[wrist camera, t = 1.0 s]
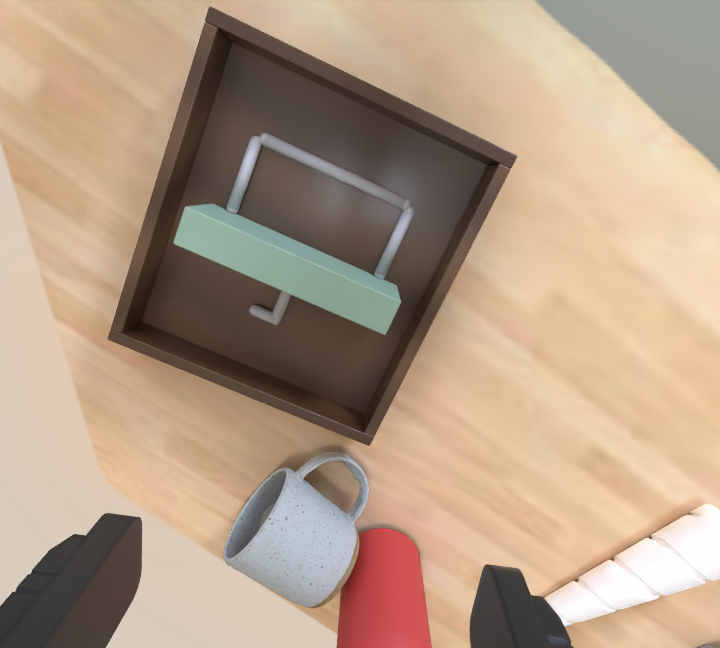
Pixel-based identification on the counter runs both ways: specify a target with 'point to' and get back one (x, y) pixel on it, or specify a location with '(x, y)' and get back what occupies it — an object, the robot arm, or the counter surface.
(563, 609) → the unicorn horn
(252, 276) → the hanger
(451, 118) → the counter surface
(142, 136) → the counter surface
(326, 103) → the tray
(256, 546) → the ceramic mug
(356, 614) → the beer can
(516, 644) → the robot arm
